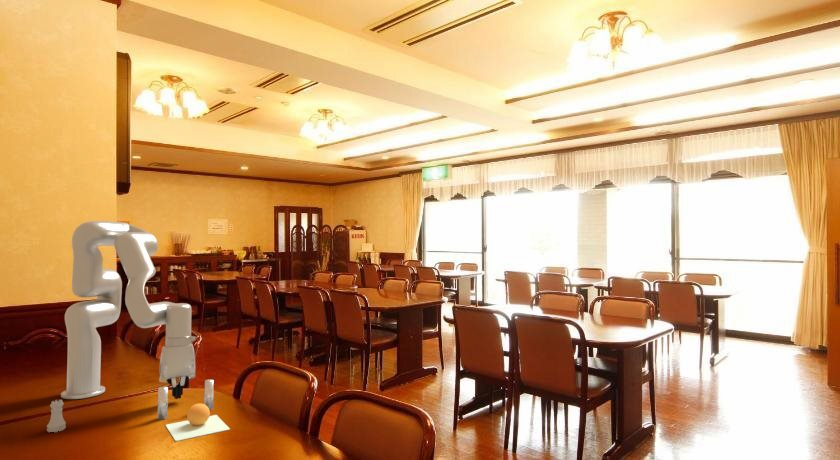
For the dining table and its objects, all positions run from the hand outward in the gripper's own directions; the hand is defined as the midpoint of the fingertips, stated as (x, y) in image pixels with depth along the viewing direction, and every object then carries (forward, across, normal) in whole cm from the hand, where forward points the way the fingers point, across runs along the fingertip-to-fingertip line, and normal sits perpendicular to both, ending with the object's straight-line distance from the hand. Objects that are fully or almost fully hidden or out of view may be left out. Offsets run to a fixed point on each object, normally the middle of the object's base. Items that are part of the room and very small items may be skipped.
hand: (177, 397), depth 162 cm
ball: (-2, -1, +25) cm, 25 cm away
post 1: (+2, +6, +13) cm, 15 cm away
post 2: (+2, -6, +13) cm, 15 cm away
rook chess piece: (+2, +32, +6) cm, 33 cm away
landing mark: (+2, 0, +27) cm, 27 cm away
